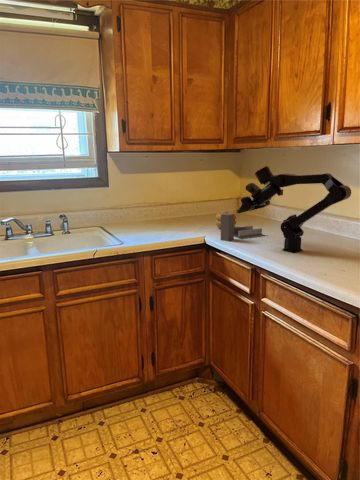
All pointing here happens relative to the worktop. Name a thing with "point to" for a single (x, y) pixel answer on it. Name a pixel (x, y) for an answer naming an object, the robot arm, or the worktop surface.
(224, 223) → the gray rectangular block
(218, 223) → the pot
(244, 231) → the bracket
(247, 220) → the worktop surface
